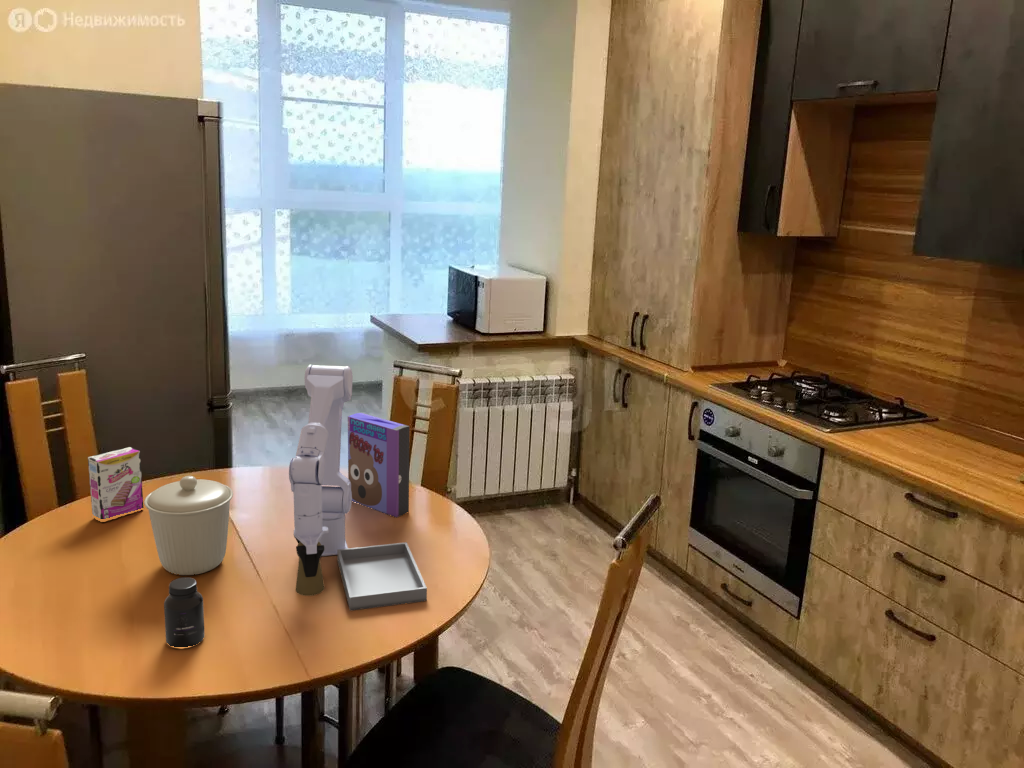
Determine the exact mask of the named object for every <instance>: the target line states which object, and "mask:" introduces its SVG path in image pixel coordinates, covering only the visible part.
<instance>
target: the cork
mask: <svg viewBox="0 0 1024 768" xmlns="http://www.w3.org/2000/svg"><path fill="white" fill-rule="evenodd" d="M303 545H304V544H303V543H301V542H299V544H298V543H297V546H303ZM320 545H321V543H320V542H318V544H317V546H320ZM296 555H297V556H298V565H297V573H296V574H297V575H296V582H295V583H296V585H295V592H296V593H297V594H298V595H300V596H305V597H306V596H307V597H309V596H310V597H311V596H317V595H319V594H321V593H322V592H323V591H324V590H325V582H324V576H323V571H322V566H321V565H322V564H321V559H320V560H319V564H318V570H317V574H316V576H315V577H306V576H305V573H304V569H303V564H302V561H301V558H300V557H299V555H298V553H297V552H296Z"/></svg>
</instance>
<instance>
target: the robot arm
mask: <svg viewBox="0 0 1024 768" xmlns="http://www.w3.org/2000/svg"><path fill="white" fill-rule="evenodd" d="M353 380H354V379H353V370H352V368H351V367H350V366H349V365H345V366H344V365H343V366H341V365H321V364H320V365H318V364H316V365H315V364H313V363H312V364H309V365H308V366H307V367H306V368H305V370H304V387H305V389H306V391H307V396H308V397H309V398H310V404H309V405H310V406H309V415H308V422H307V424H305V425H304V426H303V427H302V428H301V429H300V435H299V439H298V444H297V448H296V453H295V457H292V458H291V459H290V460H289V461H290V462H289V466H288V479H289V483H290V490H291V493H292V494H293V517H294V518H293V521H294V529H293V537H294V539H295V540H296V542H297V545H298V544H299V542H301V543H303V544H304V545H303V546H295V549H296V554H297V553H298V555H299V556H298V555H297V556H298V558H299V557H300V558H301V561H302V564H303V569H304V573H305V576H306V577H315V576H316V574H317V570H318V564H319V560H320V561H321V558H322V557H327V556H337V550H338V549H347V548H349V547H348V543H347V541H346V540H347V539H346V515H347V514H348V513H349V512H350V511H351V508H352V504H353V502H352V491H351V483H350V480H349V479H348V477H346V476H345V475H344V474H343V473H342V472H341V471H340V470H341V469H340V468H341V446H342V445H341V443H342V421H343V420H342V419H343V408H344V404H345V403H347V402H350V401H351V400H352V394H353ZM318 542H320V543H321V545H320V546H317V544H318Z"/></svg>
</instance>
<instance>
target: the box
mask: <svg viewBox="0 0 1024 768" xmlns="http://www.w3.org/2000/svg"><path fill="white" fill-rule="evenodd" d="M336 557H337V565H338V569H339V573H340V578H341V580H342V581H341V582H342V585H343V588H344V593H345V597H346V600H347V605H348V609H349V611H350V612H351V611H359V610H366V609H367V610H368V609H375V608H382V607H390V606H397V605H403V604H404V605H405V603H407V604H413V603H420V602H421V601H422V602H427V597H428V596H427V595H428V587H427V585H426V583H425V581H424V578H423V576H422V574H421V571H420V569H419V567H418V565H417V561H416V560H415V558H414V555H413V553H412V551H411V549H410V547H409V544H408V542H397V543H396V542H395V543H388V544H387V543H386V544H377V545H369V546H361V547H360V546H359V547H357V546H356V547H351V548H349V547H348V548H347V549H338V550H337V555H336Z"/></svg>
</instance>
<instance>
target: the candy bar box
mask: <svg viewBox="0 0 1024 768" xmlns="http://www.w3.org/2000/svg"><path fill="white" fill-rule="evenodd" d="M141 461H142V460H141V451H140V450H138V449H136V448H134V447H132V446H128V447H125V448H121V449H120V448H119V449H116V450H112V451H109V452H108V451H107V452H104V453H99V454H96V455H92V456H87V463H88V465H87V466H88V477H89V487H90V488H89V490H90V502H91V513H92V514H93V515H94V516H96V517H98V518H100V519H106V518H110V517H113V516H116V515H120V514H124V513H128V512H131V511H135V510H138V509H141V508H144V495H143V479H142V463H141ZM93 515H92V516H93Z"/></svg>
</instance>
